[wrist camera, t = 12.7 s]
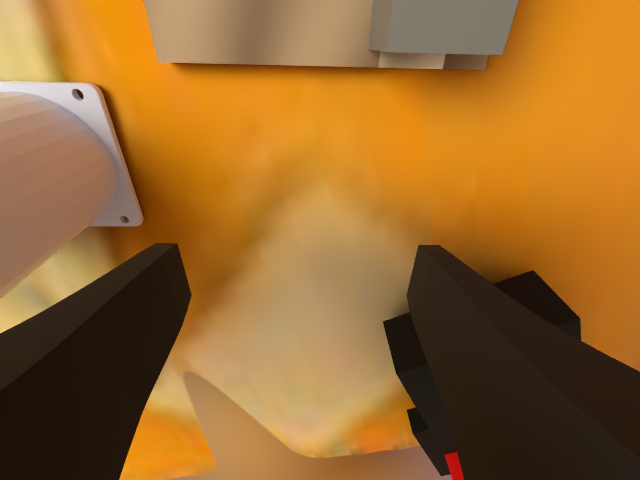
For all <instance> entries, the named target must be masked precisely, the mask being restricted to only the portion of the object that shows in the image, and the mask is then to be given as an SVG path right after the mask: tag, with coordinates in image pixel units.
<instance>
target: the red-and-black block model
mask: <svg viewBox="0 0 640 480" xmlns="http://www.w3.org/2000/svg"><path fill="white" fill-rule="evenodd" d="M493 285H494V286H495V287H497V288H498V289H500V290H501V291H502V292H504V293H505V294H507V295H508V296H510V297H511V298H512V299H514V300H515V301H517V302H518V303H520V304H522V305H523V306H525V307H526V308H528V309H529V310H531V311H532V312H534V313H535V314H537V315H538V316H540V317H541V318H543V319H545V320H546V321H548V322H550V323H551V324H553V325H554V326H556V327H558V328H560V329H561V330H563V331H565V332H567V333H568V334H570V335H572V336H573V337H575V338H577V339H579V340H580V341H581V329H580V318H579V317H578V316H577V315H576V314H575V313H574V312H573V311H572V310H571V309H570V308H569V307H568V306H567V304H566V303H565V302H564V301H563V300H562V299H561V298H560V297H559V296H558V295H557V294H556V293H555V292H554V291H553V290H552V289H551V288H550V287H549V286H548V285H547V284H546V283H545V282H544V281H543V280H542V279H541V278H540V277H539V276H538V275H537V274H536V273H535V272H534V271H533V270H532V271H529V272H526V273H524V274H521V275H518V276H515V277H512V278H509V279H506V280H503V281H500V282H497V283H494V284H493ZM383 324H384V328H385V332H386V336H387V340H388V343H389V347H390V351H391V355H392V359H393V363H394V367H395V371H396V374H397V376H398V377H399V379H400V381H401V382H402V384H403V386H404V388H405V389H406V391H407V393H408V394H409V396H410V398H411V399H412V401H413V403H414V404H415V406H416V408H412V409H408V410H407V413H408V417H409V421H410V425H411V428H412V432H413V435H414V436H415V438H416V439H417V441H418V442H419V444H420V445H421V447H422V448H423V449H424V451H425V453H426V454H427V456H428V457H429V458H430V460H431V461H432V463H433V465H434V466H435V467H436V469H437V471H438V472H439V474H440V475H441V476H444V475H449V474H451V476H452V479H453V480H464V477H463V473H462V469H461V465H460V462H459V458H458V454H457V450H456V446H455V443H454V439H453V435H452V432H451V428H450V425H449V421H448V417H447V414H446V410H445V408H444V405H443V402H442V399H441V396H440V393H439V390H438V388H437V385H436V383H435V380H434V377H433V375H432V372H431V370H430V367H429V364H428V362H427V359H426V357H425V354H424V352H423V349H422V346H421V344H420V341H419V338H418V336H417V333H416V330H415V328H414V325H413V321H412V317H411V313H407V314H404V315H401V316H398V317H395V318H392V319H389V320H386V321H383Z"/></svg>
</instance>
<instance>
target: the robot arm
mask: <svg viewBox="0 0 640 480" xmlns="http://www.w3.org/2000/svg"><path fill="white" fill-rule="evenodd" d="M77 89H79V90H80V91H81V92H82V93H83V95H84V98H83V99H82V98H81V97H79V95H78V94H77ZM123 216H125V217H127V218H128V219H129V220H126V219H124V217H123ZM143 221H144V217H143V214H142V211H141V208H140V205H139V202H138V199H137V196H136V193H135V190H134V187H133V184H132V181H131V178H130V175H129V172H128V169H127V166H126V163H125V160H124V157H123V154H122V151H121V148H120V145H119V142H118V139H117V136H116V133H115V130H114V126H113V123H112V120H111V117H110V114H109V111H108V108H107V105H106V102H105V99H104V96H103V94H102V92H101V90H100V89H99V88H98V87H97V86H96V85H94V84H93V83H83V82H38V81H0V299H1V298H2V297H4V296H5V295H6V294H7V293H8V292H10V291H11V290H12V289H13V288H14V287H16V286H17V285H18V284H19V283H20V282H22V281H23V280H24V279H25V278H26V277H28V276H29V275H30V274H31V273H32V272H34V271H35V270H36V269H37V268H38V267H40V266H41V265H42V264H43V263H44V262H46V261H47V260H48V259H49V258H50V257H52V256H53V255H54V254H55V253H56V252H58V251H59V250H60V249H61V248H62V247H64V246H65V245H66V244H67V243H68V242H70V241H71V240H72V239H73V238H74V237H76V236H77V235H78V234H79V233H80V232H82V231H83V230H84V229H85V228H86V227H88V226H139V225H141V223H142V222H143ZM190 299H191V291H190V288H189V284H188V280H187V277H186V273H185V270H184V266H183V262H182V259H181V255H180V252H179V248H178V244H170V243H156V244H154V245H152V246H150V247H149V248H147V249H145V250H143V251H142V252H140V253H138V254H137V255H135V256H134V257H132V258H130V259H129V260H127V261H126V262H124V263H122V264H121V265H119V266H118V267H116V268H114V269H113V270H111V271H110V272H108V273H106V274H105V275H103V276H102V277H100V278H98V279H97V280H95V281H94V282H92V283H90V284H89V285H87V286H86V287H84V288H82V289H80V290H79V291H77V292H75V293H73V294H72V295H70V296H68V297H67V298H65V299H63V300H61V301H60V302H58V303H56V304H55V305H53V306H51V307H49V308H48V309H46V310H44V311H43V312H41V313H39V314H37V315H35V316H33V317H32V318H30V319H28V320H26V321H24V322H22V323H20V324H18V325H16V326H14V327H12V328H10V329H8V330H6V331H4V332H2V333H0V480H119V478H120V475H121V472H122V469H123V466H124V463H125V460H126V457H127V454H128V451H129V448H130V446H131V443H132V440H133V437H134V434H135V432H136V429H137V426H138V423H139V420H140V417H141V415H142V412H143V410H144V408H145V405H146V403H147V400H148V398H149V396H150V394H151V392H152V389H153V387H154V385H155V383H156V381H157V379H158V377H159V375H160V372H161V370H162V368H163V366H164V364H165V362H166V360H167V358H168V355H169V353H170V351H171V349H172V347H173V345H174V343H175V340H176V338H177V336H178V334H179V332H180V329H181V327H182V325H183V322H184V319H185V316H186V313H187V309H188V306H189V302H190ZM407 299H408V304H409V308H410V313H411V317H412V321H413V325H414V328H415V330H416V333H417V336H418V338H419V341H420V344H421V346H422V349H423V352H424V354H425V357H426V359H427V362H428V364H429V367H430V370H431V372H432V375H433V377H434V380H435V383H436V385H437V388H438V390H439V393H440V396H441V399H442V402H443V405H444V408H445V410H446V414H447V417H448V421H449V425H450V428H451V432H452V435H453V439H454V443H455V446H456V450H457V454H458V458H459V462H460V465H461V469H462V473H463V477H464V480H640V372H639V371H637V370H635V369H633V368H631V367H629V366H628V365H626V364H624V363H622V362H620V361H618V360H616V359H614V358H612V357H610V356H608V355H606V354H604V353H602V352H600V351H598V350H597V349H595V348H593V347H591V346H589V345H587V344H586V343H584V342H582V341H580V340H579V339H577V338H575V337H573V336H572V335H570V334H568V333H567V332H565V331H563V330H561V329H560V328H558V327H556V326H554V325H553V324H551V323H550V322H548V321H546V320H545V319H543V318H541V317H540V316H538V315H537V314H535V313H534V312H532V311H531V310H529V309H528V308H526V307H525V306H523V305H522V304H520V303H518V302H517V301H515V300H514V299H512V298H511V297H510V296H508V295H507V294H505V293H504V292H502V291H501V290H500V289H498V288H497V287H495V286H494V285H493V284H491V283H490V282H488V281H487V280H486V279H484V278H483V277H482V276H480V275H479V274H478V273H476V272H475V271H474V270H472V269H471V268H470V267H468V266H467V265H466V264H464V263H463V262H462V261H460V260H459V259H458V258H456V257H455V256H454V255H452V254H451V253H449V252H448V251H447V250H445V249H444V248H442V247H441V246H439V245H419V246H418V250H417V254H416V258H415V263H414V267H413V271H412V275H411V279H410V284H409V288H408V292H407Z"/></svg>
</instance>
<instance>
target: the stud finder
mask: <svg viewBox="0 0 640 480" xmlns="http://www.w3.org/2000/svg"><path fill="white" fill-rule="evenodd" d="M518 2H519V0H373V6H372V16H371V27H370V38H369V50H376V51H382V52H397V53H436V54H474V55H503V52H504V49H505V45H506V42H507V39H508V35H509V32H510V28H511V25H512V22H513V18H514V15H515V12H516V8H517V5H518Z"/></svg>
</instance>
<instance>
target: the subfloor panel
mask: <svg viewBox="0 0 640 480" xmlns="http://www.w3.org/2000/svg"><path fill="white" fill-rule="evenodd" d="M144 3H145V7H146V12H147V16H148V20H149V25H150V29H151V33H152V38H153V42H154V47H155V51H156V55H157V60H158V62H170V63H212V64H253V65H295V66H336V67H378V68H419V69H461V70H485V68H486V64H487V60H488V57H489V55H474V54H436V53H397V52H382V51H376V50H369V38H370V27H371V16H372V6H373V0H144Z"/></svg>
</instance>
